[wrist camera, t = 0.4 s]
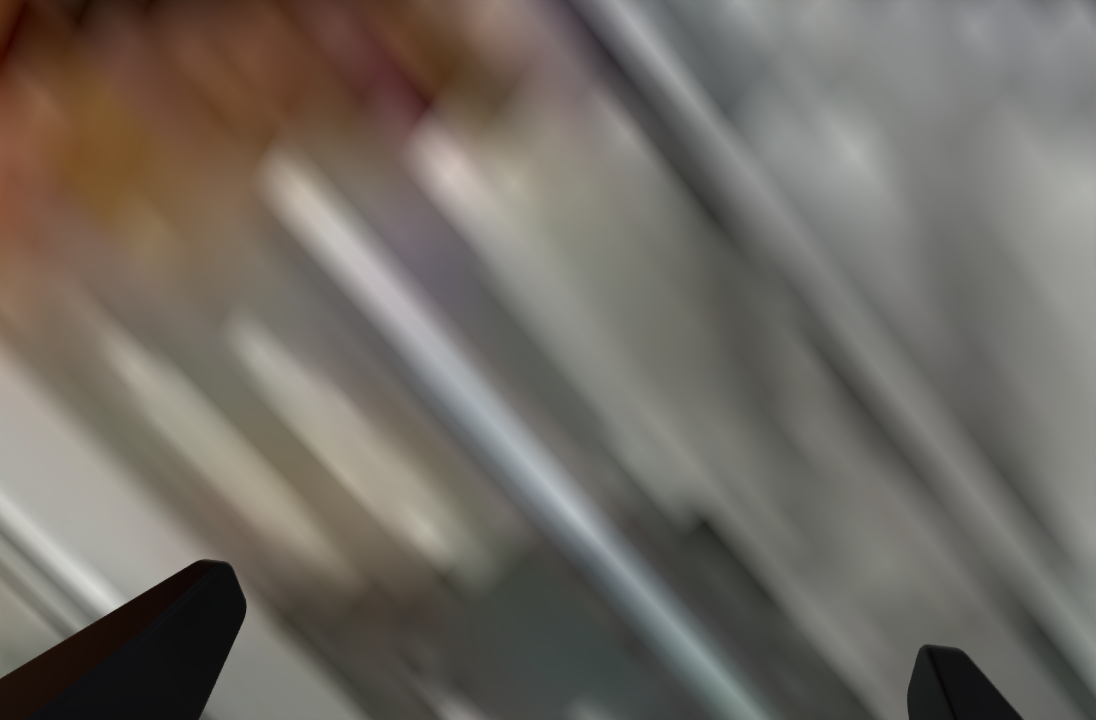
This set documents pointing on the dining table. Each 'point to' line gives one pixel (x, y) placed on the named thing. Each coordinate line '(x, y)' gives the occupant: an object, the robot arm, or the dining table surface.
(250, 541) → the dining table surface
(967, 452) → the dining table surface
